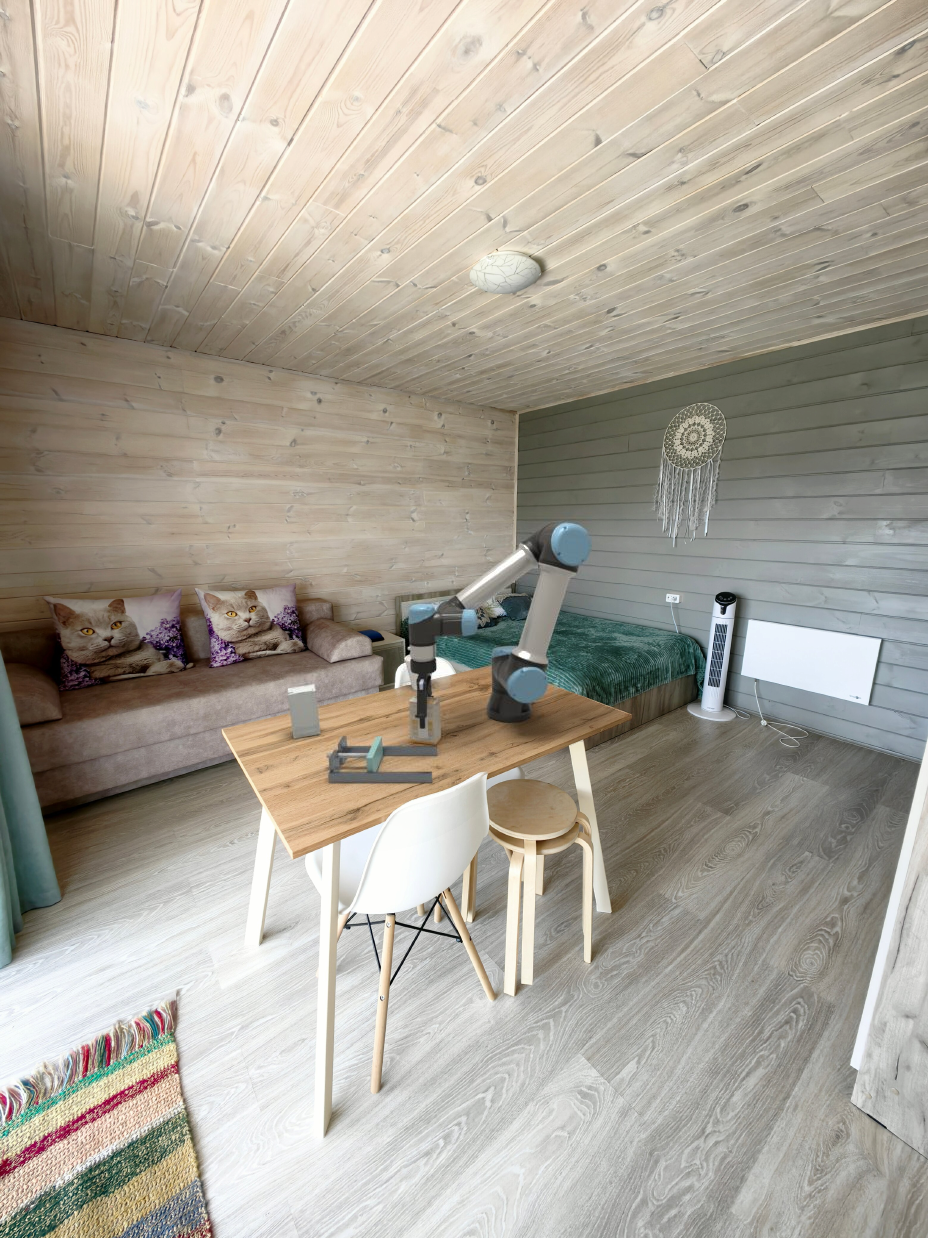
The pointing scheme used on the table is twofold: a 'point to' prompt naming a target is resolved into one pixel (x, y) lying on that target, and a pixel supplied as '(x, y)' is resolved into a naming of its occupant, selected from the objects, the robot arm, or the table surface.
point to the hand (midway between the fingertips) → (425, 728)
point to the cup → (412, 676)
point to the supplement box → (433, 721)
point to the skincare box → (303, 711)
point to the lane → (378, 776)
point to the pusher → (368, 755)
